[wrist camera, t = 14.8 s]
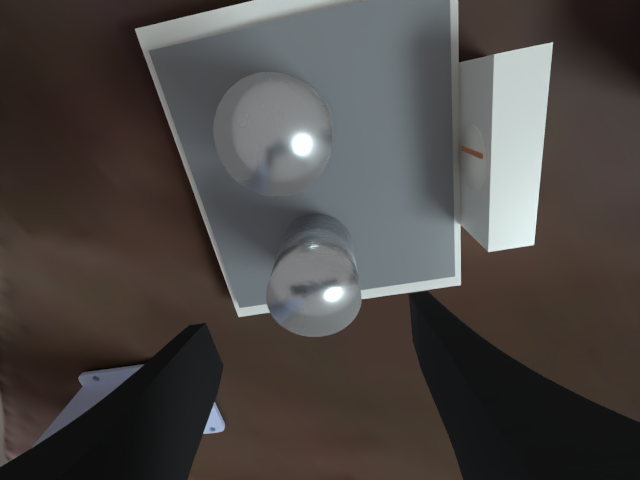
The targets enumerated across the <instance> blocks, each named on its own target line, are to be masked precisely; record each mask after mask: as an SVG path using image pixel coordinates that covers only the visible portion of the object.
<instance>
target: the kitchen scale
mask: <svg viewBox="0 0 640 480" xmlns="http://www.w3.org/2000/svg"><path fill="white" fill-rule="evenodd" d="M135 31H136V34H137V37H138V40H139V43H140V45H141V48H142V51H143V54H144V56H145V59H146V62H147V65H148V67H149V70H150V73H151V76H152V79H153V81H154V84H155V87H156V90H157V92H158V95H159V98H160V101H161V104H162V106H163V109H164V112H165V115H166V117H167V120H168V123H169V126H170V128H171V131H172V134H173V137H174V140H175V142H176V145H177V148H178V151H179V153H180V156H181V159H182V162H183V165H184V167H185V170H186V173H187V176H188V178H189V181H190V184H191V187H192V189H193V192H194V195H195V198H196V201H197V203H198V206H199V209H200V212H201V214H202V217H203V220H204V223H205V226H206V228H207V231H208V234H209V237H210V239H211V242H212V245H213V248H214V250H215V253H216V256H217V259H218V262H219V264H220V267H221V270H222V273H223V275H224V278H225V281H226V284H227V287H228V289H229V292H230V295H231V298H232V300H233V303H234V306H235V309H236V311H237V314H238V317H242V316H249V315H256V314H263V313H270V311H269V309H268V306H267V302H266V290H267V286H268V283H269V279H270V276H271V273H272V270H273V266H274V263H275V260H276V256H277V253H278V250H279V247H280V243H281V240H282V237H283V234H284V232H285V230H286V229H287V227H288V226H289V225H290V224H291V223H292V222H293V221H295V220H296V219H298V218H300V217H302V216H305V215H308V214H325V215H328V216H331V217H333V218H336V219H337V220H339V221H340V222H341V223H342V224H343V225H344V226H345V227H346V228H347V229H348V231H349V233H350V235H351V238H352V243H353V248H354V254H355V260H356V266H357V272H358V278H359V284H360V289H361V299H367V298H374V297H381V296H388V295H395V294H402V293H409V292H416V291H422V290H429V289H436V288H443V287H450V286H457V285H461V245H460V225H462V226H463V227H464V228H465V229H466V230H467V231H468V232H469V233H470V234H471V235H472V236H473V237H474V238H475V239H476V240H477V241H478V242H479V243H480V244H481V245H482V246H483V247H484V248H485V249H486V250H487V251H488V252H491V251H498V250H504V249H511V248H517V247H524V246H530V245H534V239H535V229H536V218H537V207H538V197H539V186H540V175H541V165H542V154H543V143H544V133H545V122H546V111H547V101H548V90H549V79H550V69H551V58H552V47H553V42H552V43H547V44H542V45H537V46H532V47H528V48H523V49H518V50H513V51H508V52H504V53H499V54H494V55H490V56H485V57H481V58H476V59H472V60H468V61H463V62H459V46H458V0H253V1H249V2H245V3H240V4H236V5H232V6H228V7H224V8H220V9H215V10H211V11H207V12H203V13H199V14H195V15H190V16H186V17H182V18H178V19H174V20H170V21H165V22H161V23H157V24H153V25H149V26H145V27H140V28H136V29H135ZM261 72H278V73H283V74H286V75H289V76H292V77H294V78H296V79H298V80H301V81H303V82H305V83H307V84H309V85H310V86H312V87H314V88H315V89H316V90H317V91H318V92H319V93H320V94H321V95H322V96H323V97H324V99H325V100H326V102H327V104H328V105H329V108H330V110H331V114H332V118H333V140H332V150H331V154H330V158H329V160H328V163H327V165H326V167H325V169H324V171H323V172H322V174H321V175H320V176H319V178H318V179H317V180H316V181H315V182H314V183H313V184H311V185H310V186H309V187H307V188H306V189H304V190H302V191H300V192H298V193H296V194H292V195H289V196H283V197H271V196H265V195H260V194H257V193H255V192H252V191H250V190H248V189H246V188H245V187H243V186H242V185H240V184H239V183H238V182H237V181H236V180H234V179H233V177H232V176H231V175H230V174H229V173H228V172H227V170H226V169H225V168H224V166H223V164H222V162H221V161H220V158H219V156H218V154H217V151H216V147H215V143H214V136H213V126H214V118H215V114H216V110H217V108H218V105H219V103H220V101H221V99H222V97H223V96H224V95H225V93H226V92H227V91H228V90H229V89H230V88H231V87H232V86H233V85H234V84H235V83H237V82H238V81H239V80H241V79H243V78H245V77H247V76H249V75H252V74H255V73H261Z"/></svg>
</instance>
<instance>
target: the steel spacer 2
mask: <svg viewBox="0 0 640 480" xmlns="http://www.w3.org/2000/svg"><path fill="white" fill-rule="evenodd" d="M266 302H267V306H268V309H269V311H270V313H271V315H272V316H273V318H274V319H275V320H276V321H277V322H278V323H279V324H280V325H281V326H282V327H284V328H285V329H287V330H289V331H291V332H293V333H295V334H299V335H302V336H308V337H321V336H327V335H331V334H334V333H336V332H338V331H340V330H342V329H344V328H345V327H347V326H348V325H349V324H350V323H351V322H352V321H353V320H354V318H355V317H356V316H357V314H358V312H359V309H360V306H361V289H360V284H359V278H358V272H357V266H356V260H355V254H354V248H353V243H352V238H351V235H350V233H349V231H348V229H347V228H346V227H345V226H344V225H343V224H342V223H341V222H340V221H339V220H337V219H336V218H333V217H331V216H328V215H325V214H308V215H305V216H302V217H300V218H298V219H296V220H295V221H293V222H292V223H291V224H290V225H289V226H288V227H287V229H286V230H285V232H284V234H283V237H282V240H281V243H280V247H279V250H278V253H277V256H276V260H275V263H274V266H273V270H272V273H271V276H270V279H269V283H268V286H267V290H266Z"/></svg>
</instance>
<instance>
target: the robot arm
mask: <svg viewBox="0 0 640 480" xmlns="http://www.w3.org/2000/svg"><path fill="white" fill-rule="evenodd" d="M409 301H410V312H411V324H412V335H413V343H414V346H415V350H416V353H417V357H418V360H419V364H420V367H421V370H422V372H423V375H424V377H425V380H426V382H427V385H428V387H429V389H430V392H431V394H432V397H433V399H434V402H435V404H436V406H437V409H438V411H439V414H440V416H441V418H442V421H443V423H444V426H445V428H446V430H447V433H448V435H449V438H450V441H451V443H452V446H453V449H454V452H455V455H456V458H457V461H458V464H459V467H460V471H461V474H462V477H463V480H640V422H637V421H635V420H632V419H630V418H628V417H626V416H623V415H621V414H619V413H617V412H614V411H612V410H610V409H608V408H606V407H603V406H601V405H599V404H597V403H595V402H592V401H590V400H588V399H586V398H584V397H582V396H580V395H578V394H576V393H574V392H572V391H570V390H568V389H566V388H564V387H562V386H560V385H558V384H557V383H555V382H553V381H551V380H549V379H547V378H545V377H543V376H542V375H540V374H538V373H536V372H534V371H533V370H531V369H529V368H528V367H526V366H524V365H523V364H521V363H519V362H518V361H516V360H515V359H513V358H511V357H510V356H508V355H507V354H505V353H504V352H502V351H501V350H499V349H498V348H496V347H495V346H493V345H492V344H491V343H489V342H488V341H487V340H485V339H484V338H482V337H481V336H480V335H478V334H477V333H476V332H475V331H473V330H472V329H471V328H470V327H468V326H467V325H466V324H465V323H463V322H462V321H461V320H460V319H458V318H457V317H456V316H455V315H454V314H453V313H451V312H450V311H449V310H448V309H447V308H446V307H445V306H443V305H442V304H441V303H440V302H439V301H438V300H437V299H436V298H435V297H434V296H433V295H431V294H430V293H429V292H428V291H426V292H419V293H412V294H409ZM222 370H223V363H222V361H221V359H220V356H219V354H218V351H217V349H216V347H215V344H214V342H213V339H212V337H211V335H210V332H209V330H208V327H207V325H206V323H203V324H196V325H190V326H188V327H187V328H186V329H184V330H183V331H182V332H181V333H179V334H178V335H177V336H176V337H175V338H174V339H172V340H171V341H170V342H169V343H168V344H167V345H166V346H165V347H163V348H162V349H161V350H160V351H159V352H158V353H157V354H156V355H154V356H153V357H152V358H151V359H150V360H149V361H148V362H147V363H145V364H142V365H134V366H127V367H119V368H112V369H104V370H97V371H89V372H83V373H82V374H81V375H80V376H79V377H78V380H79V382H80V383H81V385H82V386H83V387H82V388H81V389H80V390H79V392H78V393H77V394H76V395H75V396H74V398H73V399H72V400H71V401H70V402H69V404H68V405H67V406H66V407H65V408H64V410H63V411H62V412H61V413H60V414H59V416H58V417H57V418H56V419H55V420H54V422H53V423H52V424H51V425H50V426H49V428H48V429H47V430H46V431H45V432H44V434H43V435H42V436H41V437H40V438H39V440H38V441H37V442H36V443H35V444H34V446H33V447H32V448H31V449H30V450H28V451H26V452H25V453H23V454H22V455H20V456H18V457H17V458H15V459H13V460H12V461H10V462H8V463H7V464H5V465H3V466H2V467H0V480H187V479H188V476H189V473H190V469H191V466H192V463H193V460H194V457H195V455H196V452H197V449H198V446H199V444H200V441H201V438H202V435H203V434H208V433H217V432H222V431H223V430H224V428H225V423H224V421H223V419H222V417H221V415H220V412H219V410H218V408H217V406H216V404H215V399H216V396H217V393H218V389H219V384H220V380H221V375H222Z"/></svg>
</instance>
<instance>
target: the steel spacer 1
mask: <svg viewBox="0 0 640 480" xmlns="http://www.w3.org/2000/svg"><path fill="white" fill-rule="evenodd" d="M213 136H214V143H215V147H216V151H217V154H218V156H219V158H220V161H221V162H222V164H223V166H224V168H225V169H226V170H227V172H228V173H229V174H230V175H231V176H232V177H233V179H234V180H236V181H237V182H238V183H239V184H240V185H242V186H243V187H245V188H246V189H248V190H250V191H252V192H255V193H257V194H260V195H265V196H271V197H283V196H289V195H292V194H296V193H298V192H300V191H302V190H304V189H306V188H307V187H309V186H310V185H311V184H313V183H314V182H315V181H316V180H317V179H318V178H319V176H320V175H321V174H322V172H323V171H324V169H325V167H326V165H327V163H328V160H329V158H330V154H331V150H332V140H333V118H332V114H331V110H330V108H329V105H328V104H327V102H326V100H325V99H324V97H323V96H322V95H321V94H320V93H319V92H318V91H317V90H316V89H315V88H314V87H312V86H310V85H309V84H307V83H305V82H303V81H301V80H298V79H296V78H294V77H292V76H289V75H286V74H283V73H278V72H261V73H255V74H252V75H249V76H247V77H245V78H243V79H241V80H239V81H238V82H237V83H235V84H234V85H233V86H232V87H231V88H230V89H229V90H228V91H227V92H226V93H225V95H224V96H223V97H222V99H221V101H220V103H219V105H218V108H217V110H216V114H215V118H214V126H213Z"/></svg>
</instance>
